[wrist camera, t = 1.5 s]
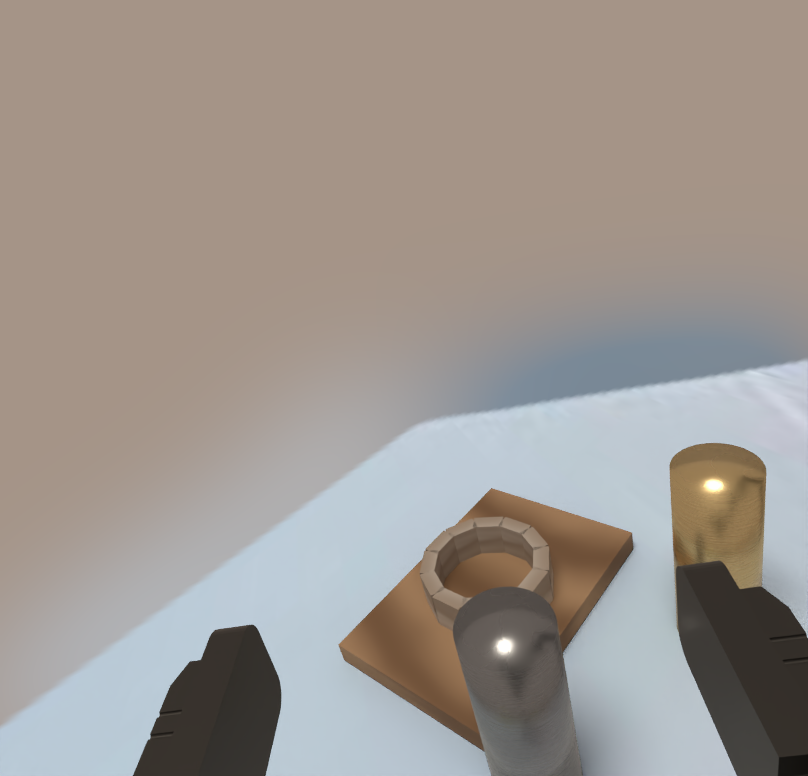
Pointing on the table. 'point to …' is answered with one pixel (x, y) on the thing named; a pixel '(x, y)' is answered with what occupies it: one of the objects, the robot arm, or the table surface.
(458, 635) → the steel peg
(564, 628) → the socket board
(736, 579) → the brass peg
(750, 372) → the table surface
